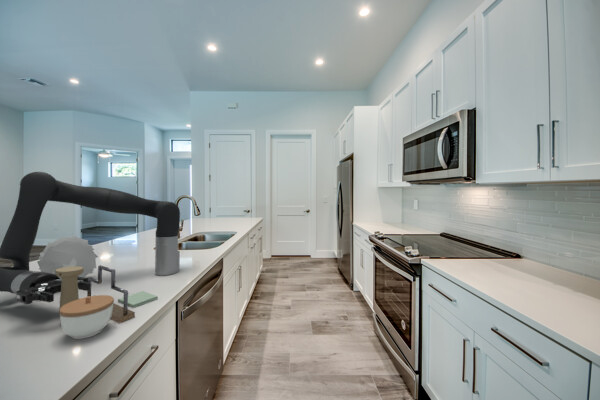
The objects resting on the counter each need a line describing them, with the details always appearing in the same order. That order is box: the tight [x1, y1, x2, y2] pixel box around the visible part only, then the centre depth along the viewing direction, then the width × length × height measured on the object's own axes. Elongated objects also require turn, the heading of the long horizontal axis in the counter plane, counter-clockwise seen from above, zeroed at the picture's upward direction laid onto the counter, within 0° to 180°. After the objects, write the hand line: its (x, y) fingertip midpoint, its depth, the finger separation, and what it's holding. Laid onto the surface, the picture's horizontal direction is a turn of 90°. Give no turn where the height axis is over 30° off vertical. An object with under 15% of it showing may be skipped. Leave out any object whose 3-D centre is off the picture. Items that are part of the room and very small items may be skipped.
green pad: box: [117, 290, 158, 309], centre depth 84 cm, size 8×9×1 cm
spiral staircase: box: [36, 235, 99, 279], centre depth 103 cm, size 18×18×25 cm
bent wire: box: [86, 265, 136, 324], centre depth 76 cm, size 4×24×14 cm, turn 62°
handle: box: [55, 266, 84, 309], centre depth 69 cm, size 5×6×15 cm
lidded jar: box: [59, 294, 115, 340], centre depth 64 cm, size 11×11×9 cm
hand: (71, 292), depth 69 cm, fingers open, 8 cm apart
